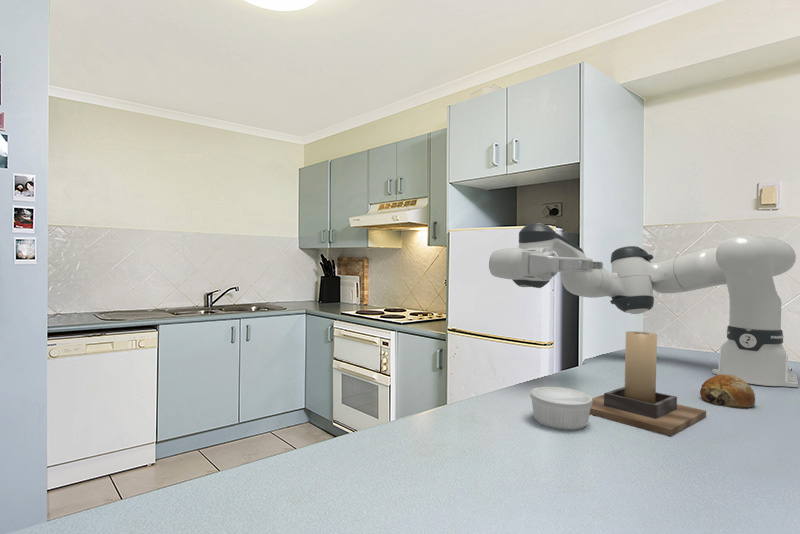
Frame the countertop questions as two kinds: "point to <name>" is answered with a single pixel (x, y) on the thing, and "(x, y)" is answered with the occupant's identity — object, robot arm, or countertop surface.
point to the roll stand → (646, 412)
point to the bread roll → (728, 391)
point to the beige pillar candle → (640, 366)
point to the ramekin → (561, 407)
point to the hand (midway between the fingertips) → (592, 265)
